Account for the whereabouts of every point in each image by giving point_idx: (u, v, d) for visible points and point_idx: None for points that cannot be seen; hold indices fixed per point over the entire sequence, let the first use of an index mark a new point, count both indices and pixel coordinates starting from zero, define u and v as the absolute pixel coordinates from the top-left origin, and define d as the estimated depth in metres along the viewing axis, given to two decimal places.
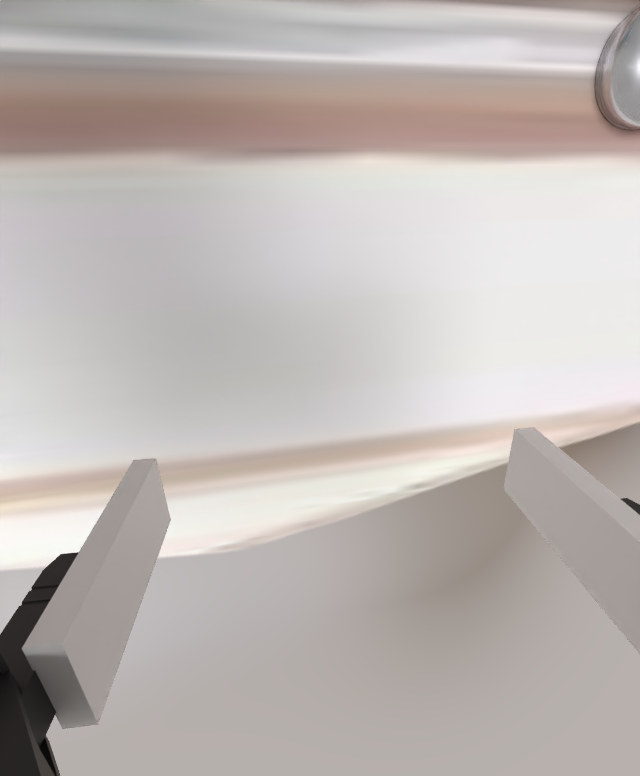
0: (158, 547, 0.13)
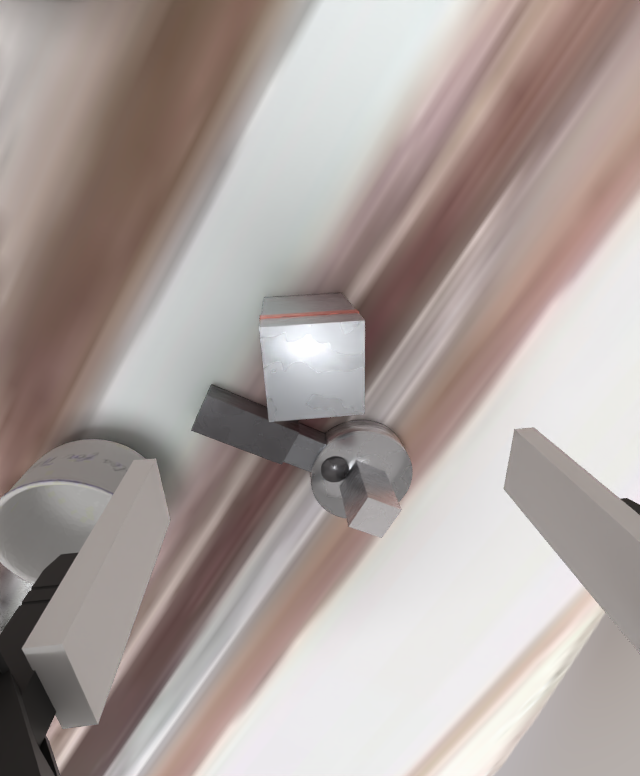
0: (158, 547, 0.13)
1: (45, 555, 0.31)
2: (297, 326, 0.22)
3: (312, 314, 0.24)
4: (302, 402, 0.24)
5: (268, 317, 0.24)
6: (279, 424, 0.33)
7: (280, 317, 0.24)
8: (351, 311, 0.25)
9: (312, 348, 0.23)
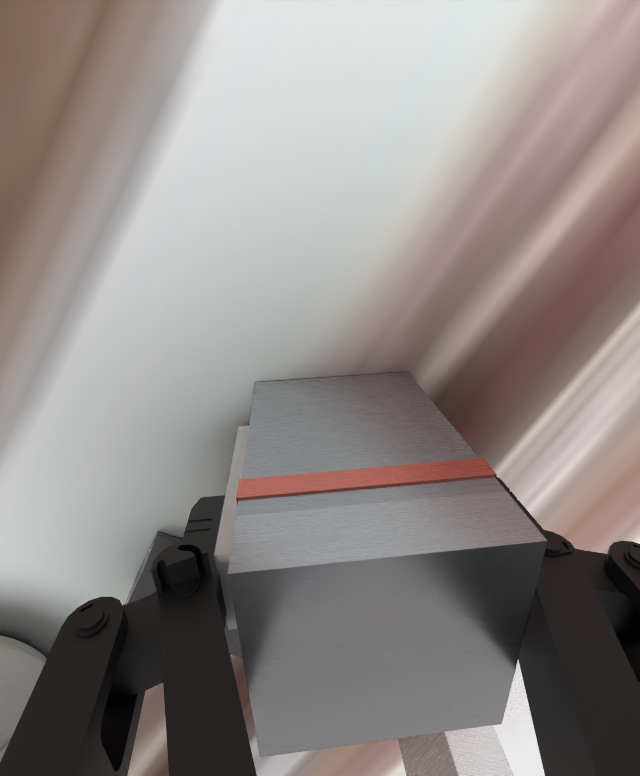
0: None
1: None
2: (346, 565, 0.07)
3: (375, 482, 0.09)
4: (348, 716, 0.09)
5: (259, 495, 0.09)
6: None
7: (292, 496, 0.09)
8: (474, 470, 0.10)
9: (386, 610, 0.08)
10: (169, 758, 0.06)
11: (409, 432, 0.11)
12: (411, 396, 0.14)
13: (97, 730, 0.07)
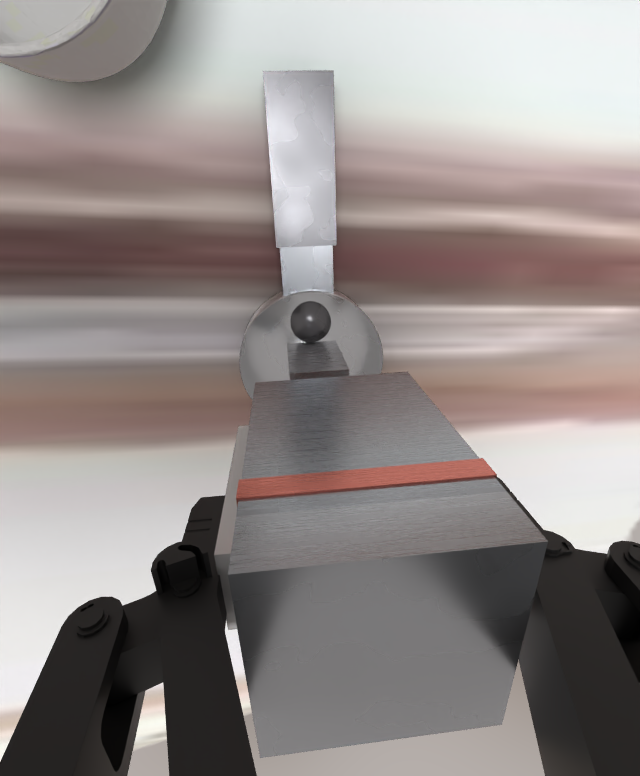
0: None
1: None
2: (346, 566, 0.07)
3: (375, 483, 0.09)
4: (348, 717, 0.09)
5: (259, 495, 0.09)
6: (335, 210, 0.22)
7: (292, 496, 0.09)
8: (475, 471, 0.10)
9: (387, 611, 0.08)
10: (169, 758, 0.06)
11: (409, 432, 0.11)
12: (411, 396, 0.14)
13: (97, 730, 0.07)
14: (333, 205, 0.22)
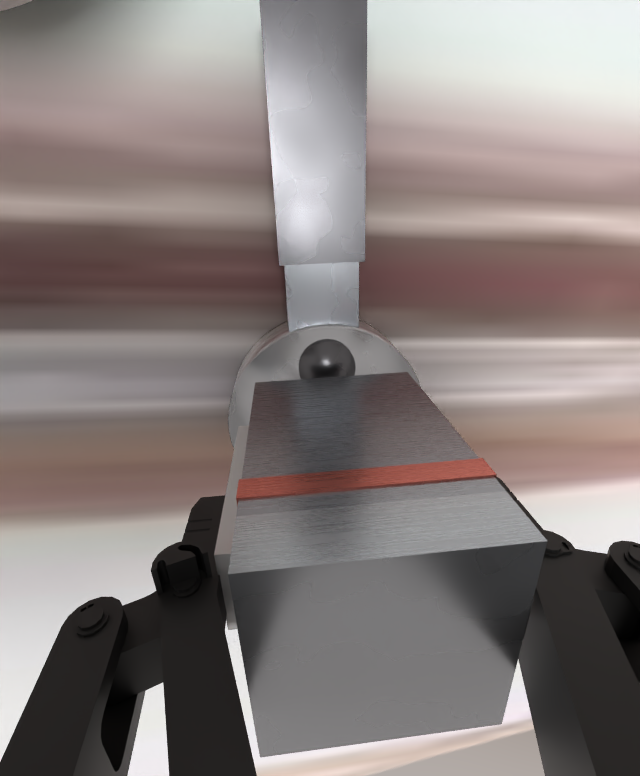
0: None
1: None
2: (346, 565, 0.07)
3: (375, 483, 0.09)
4: (348, 716, 0.09)
5: (260, 495, 0.09)
6: (364, 211, 0.15)
7: (292, 496, 0.09)
8: (474, 471, 0.10)
9: (387, 611, 0.08)
10: (169, 758, 0.06)
11: (409, 432, 0.11)
12: (411, 396, 0.14)
13: (97, 730, 0.07)
14: (362, 204, 0.15)
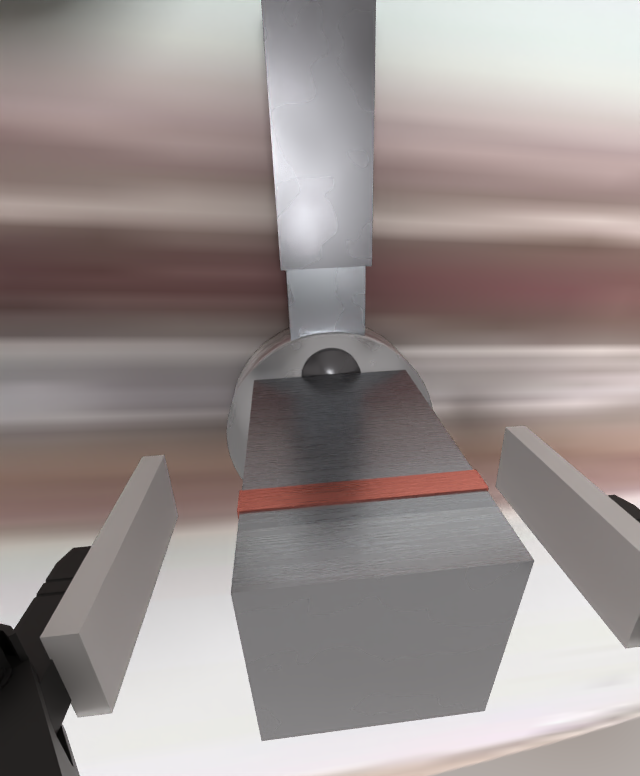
0: (167, 542, 0.13)
1: None
2: (343, 584, 0.08)
3: (372, 496, 0.10)
4: (343, 707, 0.10)
5: (260, 508, 0.09)
6: (371, 213, 0.14)
7: (291, 509, 0.09)
8: (467, 483, 0.10)
9: (380, 621, 0.08)
10: None
11: (405, 439, 0.12)
12: (408, 398, 0.14)
13: None
14: (369, 206, 0.14)
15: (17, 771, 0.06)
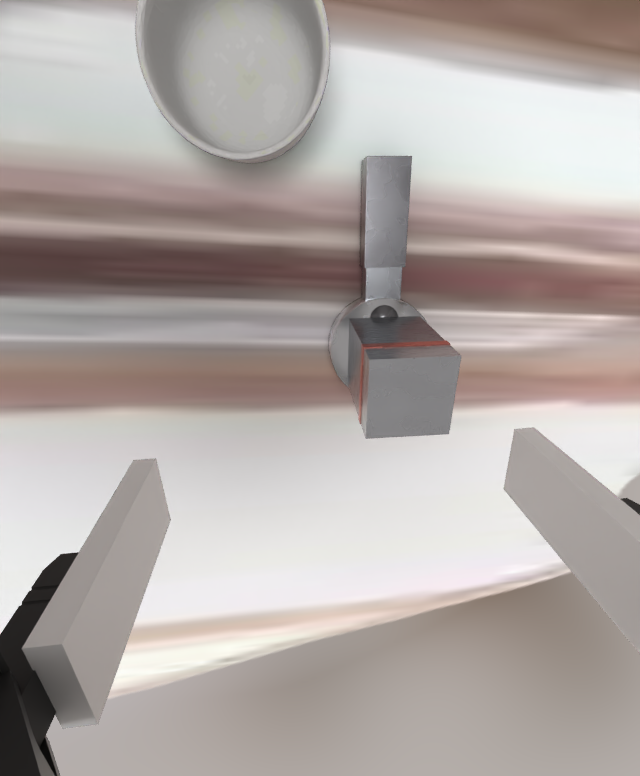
0: (158, 547, 0.13)
1: (158, 26, 0.23)
2: (402, 359, 0.26)
3: (409, 345, 0.27)
4: (397, 422, 0.28)
5: (370, 347, 0.27)
6: (405, 243, 0.32)
7: (381, 347, 0.27)
8: (443, 343, 0.28)
9: (412, 378, 0.26)
10: None
11: (420, 334, 0.30)
12: (421, 324, 0.32)
13: None
14: (405, 240, 0.32)
15: None
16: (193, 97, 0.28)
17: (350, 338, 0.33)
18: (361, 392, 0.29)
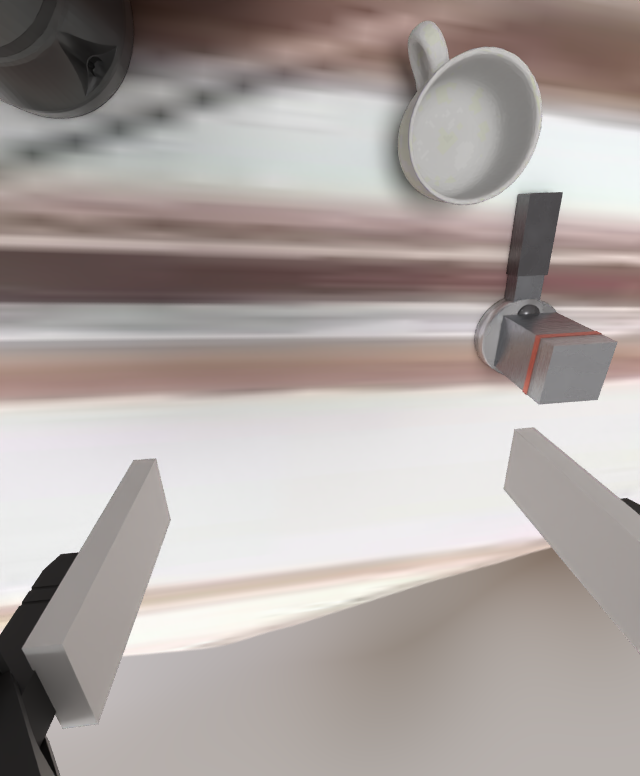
0: (158, 547, 0.13)
1: None
2: (576, 345, 0.36)
3: (572, 335, 0.38)
4: (562, 392, 0.38)
5: (545, 337, 0.37)
6: (549, 257, 0.42)
7: (553, 337, 0.37)
8: (595, 333, 0.38)
9: (580, 358, 0.36)
10: None
11: (571, 326, 0.40)
12: (564, 319, 0.42)
13: None
14: (550, 255, 0.42)
15: None
16: None
17: (505, 330, 0.43)
18: (531, 370, 0.39)
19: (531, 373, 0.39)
